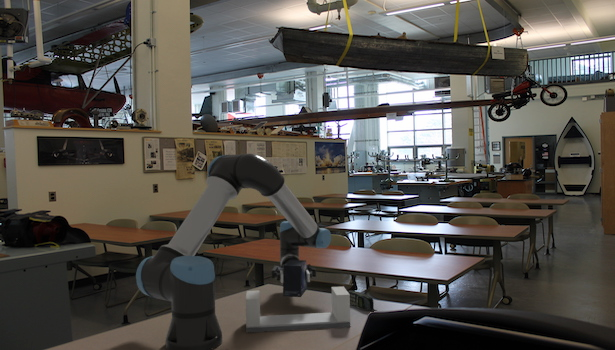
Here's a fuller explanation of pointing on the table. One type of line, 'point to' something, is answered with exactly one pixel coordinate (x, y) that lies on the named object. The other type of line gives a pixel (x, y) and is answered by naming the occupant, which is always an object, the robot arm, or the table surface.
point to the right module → (340, 304)
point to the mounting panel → (297, 322)
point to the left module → (253, 308)
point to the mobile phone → (361, 300)
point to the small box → (294, 278)
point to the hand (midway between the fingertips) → (295, 278)
